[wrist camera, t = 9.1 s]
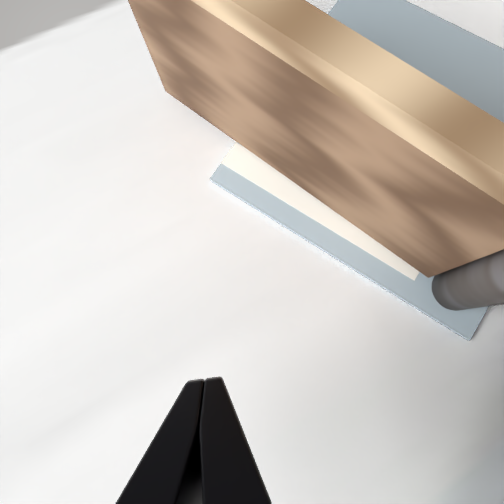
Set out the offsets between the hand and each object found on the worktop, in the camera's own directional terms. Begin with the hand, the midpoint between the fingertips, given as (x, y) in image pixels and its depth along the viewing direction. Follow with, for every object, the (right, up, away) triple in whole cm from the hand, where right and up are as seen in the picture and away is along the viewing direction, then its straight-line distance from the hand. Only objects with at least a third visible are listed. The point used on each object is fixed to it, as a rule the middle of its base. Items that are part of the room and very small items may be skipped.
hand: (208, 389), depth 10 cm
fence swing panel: (+3, +8, +14) cm, 16 cm away
